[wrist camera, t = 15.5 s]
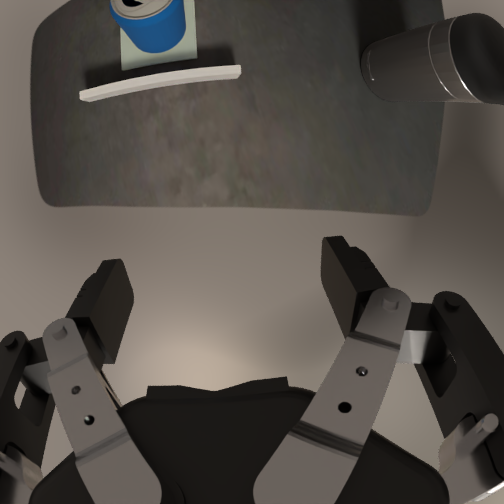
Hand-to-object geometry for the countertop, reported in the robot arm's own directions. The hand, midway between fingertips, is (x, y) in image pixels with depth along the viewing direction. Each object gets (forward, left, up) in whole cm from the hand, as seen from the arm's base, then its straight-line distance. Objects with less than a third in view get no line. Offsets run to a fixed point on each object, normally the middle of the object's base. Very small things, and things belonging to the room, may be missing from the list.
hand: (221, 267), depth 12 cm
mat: (+4, -19, -26) cm, 33 cm away
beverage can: (+4, -19, -26) cm, 32 cm away
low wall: (+4, -12, -26) cm, 29 cm away
